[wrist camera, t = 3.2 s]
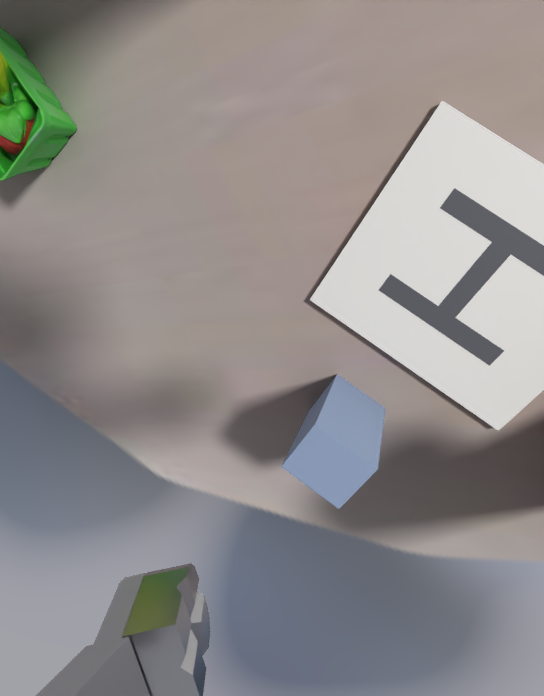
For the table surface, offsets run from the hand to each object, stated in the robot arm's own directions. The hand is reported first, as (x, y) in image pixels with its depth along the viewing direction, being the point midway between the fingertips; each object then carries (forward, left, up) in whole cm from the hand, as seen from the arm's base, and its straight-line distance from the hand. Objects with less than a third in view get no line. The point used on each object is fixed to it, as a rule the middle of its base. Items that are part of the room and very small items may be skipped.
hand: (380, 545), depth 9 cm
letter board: (+3, +4, -25) cm, 26 cm away
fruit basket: (-36, -3, -26) cm, 44 cm away
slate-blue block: (+2, -10, -25) cm, 27 cm away
